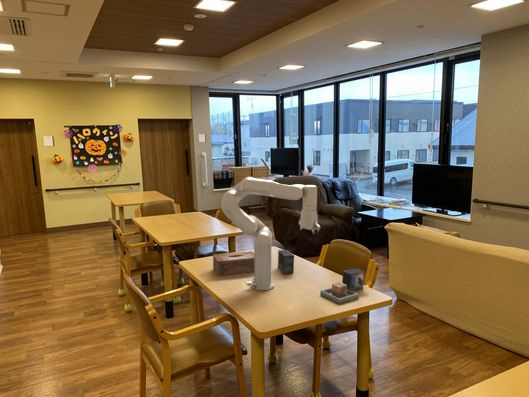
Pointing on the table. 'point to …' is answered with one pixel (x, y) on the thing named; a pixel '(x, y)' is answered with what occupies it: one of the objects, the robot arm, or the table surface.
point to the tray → (349, 297)
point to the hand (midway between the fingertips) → (308, 238)
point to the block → (339, 290)
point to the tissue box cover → (233, 263)
